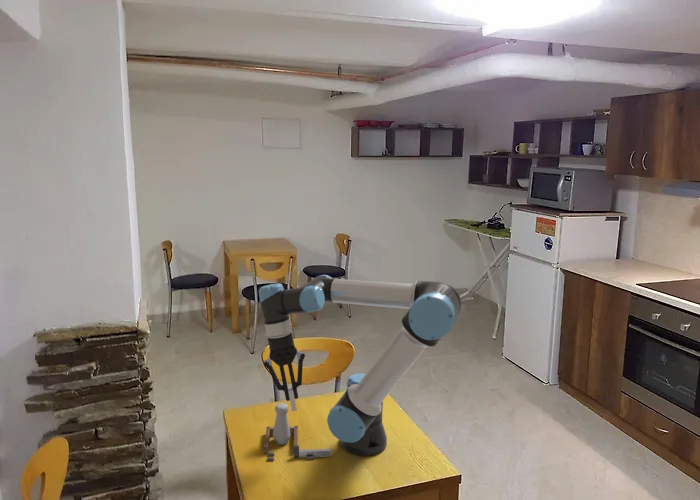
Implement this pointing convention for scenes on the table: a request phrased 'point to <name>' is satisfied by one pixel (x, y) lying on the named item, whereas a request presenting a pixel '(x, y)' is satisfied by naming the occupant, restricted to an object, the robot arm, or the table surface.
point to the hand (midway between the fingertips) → (294, 409)
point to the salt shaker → (281, 425)
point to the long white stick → (311, 452)
